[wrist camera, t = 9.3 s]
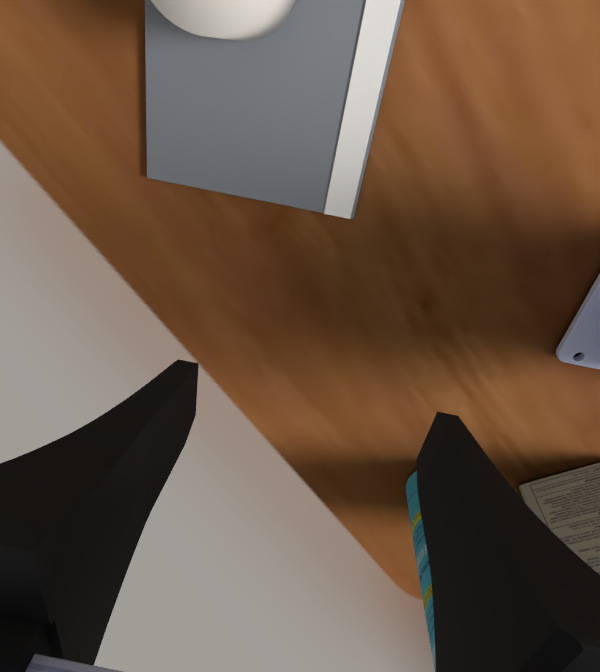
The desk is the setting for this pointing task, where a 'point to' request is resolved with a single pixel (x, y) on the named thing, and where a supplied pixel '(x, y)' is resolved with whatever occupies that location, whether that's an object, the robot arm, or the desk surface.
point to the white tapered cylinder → (227, 17)
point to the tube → (421, 556)
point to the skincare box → (570, 509)
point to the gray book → (271, 104)
